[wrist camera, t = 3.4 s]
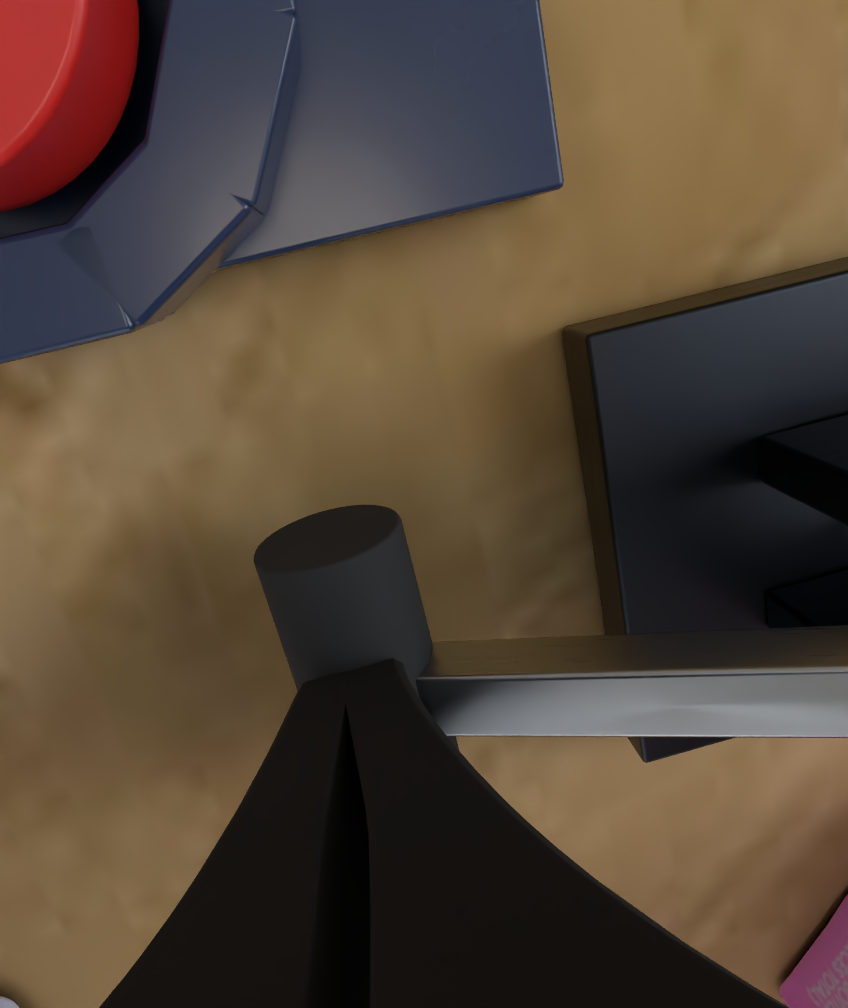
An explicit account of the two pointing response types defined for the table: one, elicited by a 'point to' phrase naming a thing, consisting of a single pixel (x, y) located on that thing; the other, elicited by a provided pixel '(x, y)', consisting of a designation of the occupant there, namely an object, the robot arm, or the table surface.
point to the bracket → (718, 460)
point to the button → (60, 89)
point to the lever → (538, 652)
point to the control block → (278, 151)
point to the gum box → (822, 969)
